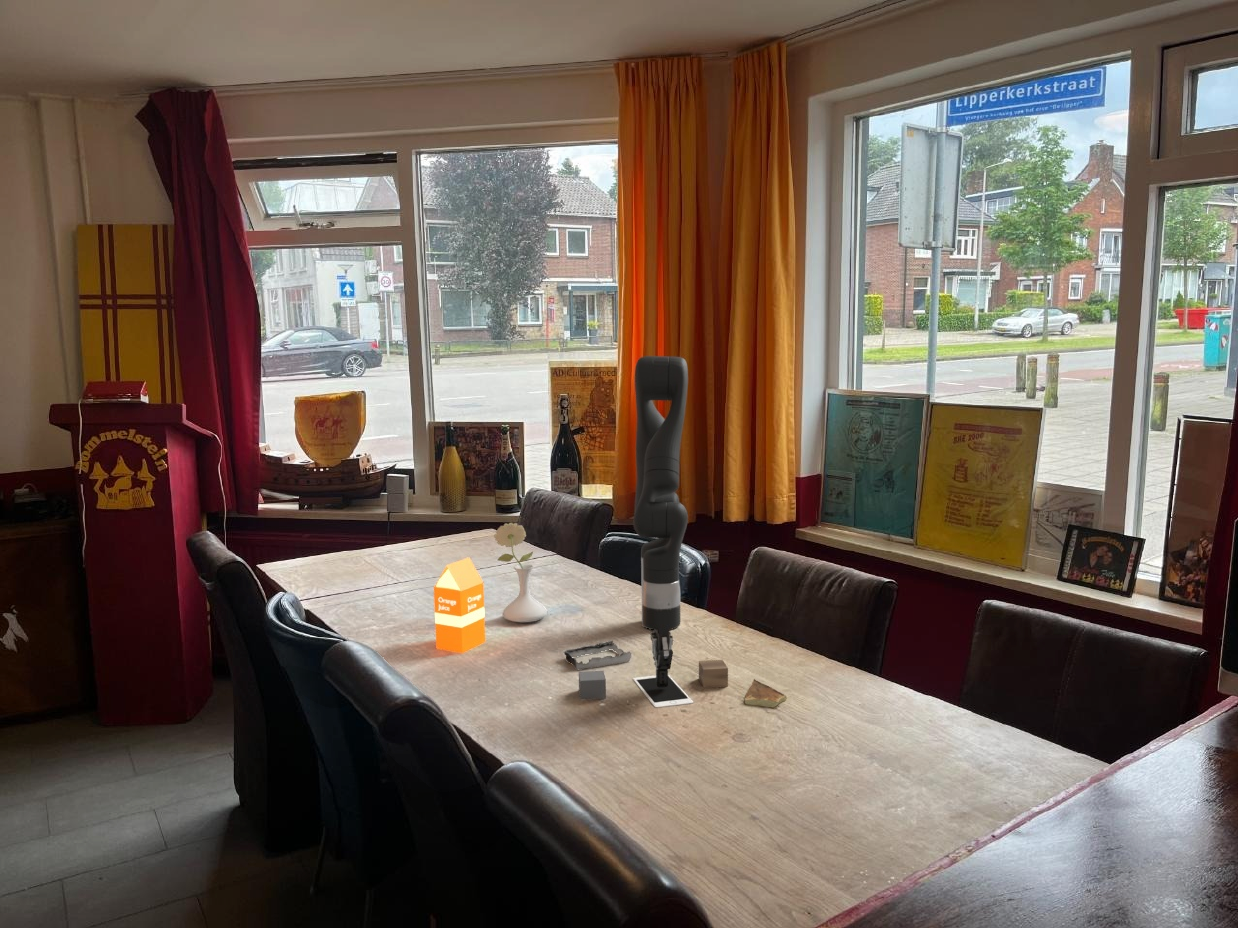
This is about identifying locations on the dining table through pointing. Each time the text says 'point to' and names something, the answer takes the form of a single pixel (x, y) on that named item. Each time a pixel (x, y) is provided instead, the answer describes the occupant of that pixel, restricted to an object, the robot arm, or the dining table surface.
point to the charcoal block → (592, 685)
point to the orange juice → (459, 608)
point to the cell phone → (662, 692)
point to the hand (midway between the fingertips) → (661, 685)
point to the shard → (763, 695)
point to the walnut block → (713, 673)
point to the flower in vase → (524, 604)
